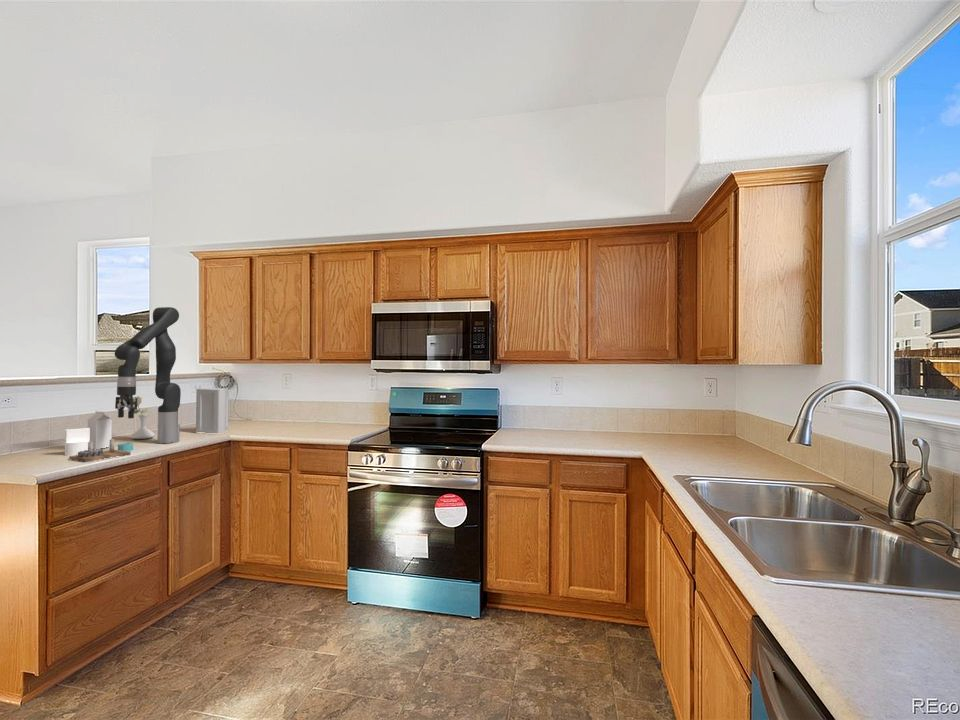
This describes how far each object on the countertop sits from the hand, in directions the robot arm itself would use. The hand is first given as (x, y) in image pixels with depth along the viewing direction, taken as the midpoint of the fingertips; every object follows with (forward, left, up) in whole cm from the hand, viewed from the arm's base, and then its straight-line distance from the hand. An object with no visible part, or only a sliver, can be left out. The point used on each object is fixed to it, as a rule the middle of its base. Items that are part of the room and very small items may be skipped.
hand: (125, 417), depth 226 cm
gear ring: (0, 0, -17) cm, 17 cm away
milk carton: (+2, -19, -17) cm, 25 cm away
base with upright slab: (+14, -13, -17) cm, 25 cm away
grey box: (-61, -17, -17) cm, 66 cm away
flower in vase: (-25, -32, -17) cm, 44 cm away
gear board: (+14, +7, -17) cm, 23 cm away
